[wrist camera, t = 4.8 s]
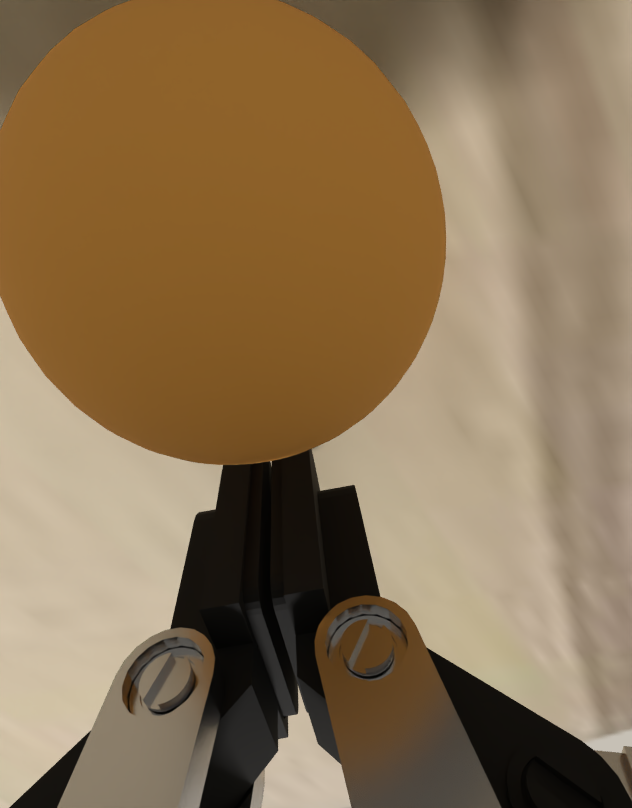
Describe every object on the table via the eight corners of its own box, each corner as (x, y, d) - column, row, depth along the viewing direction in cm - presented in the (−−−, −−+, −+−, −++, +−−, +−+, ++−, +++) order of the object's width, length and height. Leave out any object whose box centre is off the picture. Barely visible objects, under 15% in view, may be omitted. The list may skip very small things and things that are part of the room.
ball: (-332, 337, 3) (-83, -90, 5) (103, 530, 8) (123, 269, 10) (637, 225, 3) (426, -140, 5) (441, 488, 8) (381, 239, 10)
